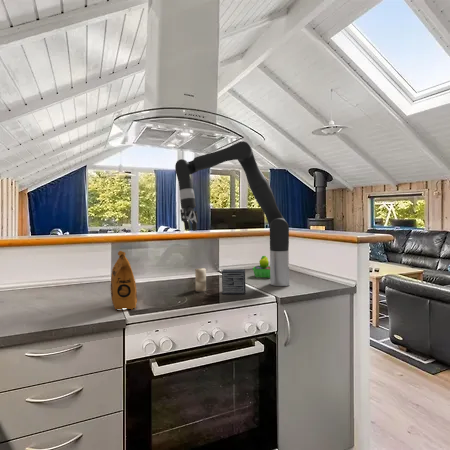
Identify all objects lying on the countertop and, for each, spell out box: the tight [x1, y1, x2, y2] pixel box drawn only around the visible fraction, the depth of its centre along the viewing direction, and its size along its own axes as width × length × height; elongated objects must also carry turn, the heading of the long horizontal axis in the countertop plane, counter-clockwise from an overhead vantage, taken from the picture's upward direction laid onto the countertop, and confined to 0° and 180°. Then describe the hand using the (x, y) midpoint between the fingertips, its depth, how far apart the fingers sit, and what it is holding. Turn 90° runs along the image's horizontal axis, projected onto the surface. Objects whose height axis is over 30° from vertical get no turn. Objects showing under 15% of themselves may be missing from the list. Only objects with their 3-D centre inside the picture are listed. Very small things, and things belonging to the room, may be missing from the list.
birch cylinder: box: [194, 267, 207, 293], centre depth 152 cm, size 5×5×10 cm
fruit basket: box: [252, 255, 270, 279], centre depth 180 cm, size 11×9×11 cm
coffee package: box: [110, 250, 138, 310], centre depth 128 cm, size 10×12×22 cm
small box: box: [221, 268, 247, 295], centre depth 147 cm, size 11×6×10 cm, turn 84°
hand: (191, 230), depth 162 cm, fingers open, 8 cm apart
